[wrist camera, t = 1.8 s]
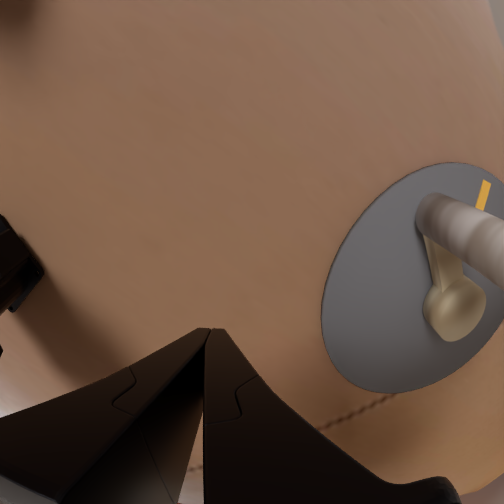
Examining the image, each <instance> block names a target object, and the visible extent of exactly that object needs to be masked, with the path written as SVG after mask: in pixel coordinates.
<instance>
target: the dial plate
mask: <svg viewBox="0 0 504 504" xmlns="http://www.w3.org/2000/svg"><path fill="white" fill-rule="evenodd" d="M434 192H438V193H441V194H444V195H446V196H449V197H451V198H454V199H456V200H459V201H461V202H463V203H466V204H468V205H471V206H473V207H475V208H478V209H480V210H482V211H484V212H487V213H489V214H491V215H493V216H495V217H498V218H500V219H502V220H504V184H503V183H502V182H501V181H500V180H499V179H497V178H496V177H495V176H494V175H493V174H491V173H489V172H487V171H486V170H484V169H482V168H479V167H476V166H472V165H469V164H464V163H454V162H450V163H439V164H435V165H431V166H427V167H424V168H421V169H419V170H417V171H415V172H412V173H410V174H408V175H406V176H405V177H403V178H402V179H400V180H399V181H397V182H395V183H394V184H392V185H391V186H390V187H389V188H388V189H386V190H385V191H384V192H383V193H382V194H380V195H379V196H378V197H377V198H376V199H375V200H374V201H373V202H372V203H371V204H370V205H369V206H368V207H367V209H366V210H365V211H364V212H363V213H362V214H361V216H360V217H359V218H358V220H357V221H356V222H355V224H354V225H353V226H352V228H351V229H350V231H349V232H348V234H347V236H346V237H345V239H344V241H343V242H342V244H341V246H340V247H339V250H338V252H337V254H336V256H335V258H334V261H333V263H332V265H331V268H330V271H329V274H328V277H327V280H326V283H325V288H324V293H323V298H322V305H321V328H322V335H323V339H324V343H325V347H326V349H327V352H328V354H329V356H330V358H331V361H332V363H333V364H334V365H335V367H336V368H337V370H338V371H339V372H340V373H341V374H342V375H343V376H344V377H345V378H346V379H347V380H348V381H350V382H351V383H353V384H354V385H356V386H358V387H361V388H363V389H365V390H369V391H373V392H379V393H401V392H408V391H412V390H416V389H420V388H423V387H425V386H428V385H431V384H433V383H435V382H437V381H439V380H441V379H443V378H445V377H447V376H448V375H450V374H452V373H453V372H455V371H456V370H457V369H459V368H460V367H462V366H463V365H464V364H465V363H467V362H468V361H469V360H470V359H471V358H472V357H473V356H475V355H476V354H477V353H478V352H479V351H480V349H481V348H482V347H483V346H484V345H485V344H486V343H487V342H488V340H489V339H490V338H491V337H492V335H493V334H494V333H495V331H496V330H497V328H498V327H499V325H500V324H501V322H502V320H503V319H504V291H503V290H502V289H500V288H499V287H498V286H496V285H495V284H494V283H492V282H491V281H490V280H488V279H487V278H486V277H484V276H483V275H482V274H480V273H479V272H478V271H476V270H475V269H473V268H472V267H471V266H469V265H468V264H466V263H465V262H463V261H462V268H463V274H464V275H465V276H466V277H468V278H469V279H470V280H472V281H473V282H474V283H475V284H477V285H478V286H479V287H481V288H482V289H483V291H484V292H485V295H486V306H485V310H484V313H483V315H482V317H481V319H480V321H479V322H478V324H477V325H476V327H475V328H474V329H473V330H472V331H471V332H470V333H469V334H468V335H466V336H465V337H463V338H461V339H459V340H457V341H452V342H449V341H445V340H443V339H442V338H441V337H440V335H439V334H438V333H437V332H436V331H435V330H434V328H433V327H432V326H431V325H430V324H429V323H428V321H427V320H426V319H425V317H424V314H423V305H424V301H425V298H426V295H427V293H428V292H429V290H430V288H431V287H432V286H433V279H432V274H431V269H430V264H429V259H428V254H427V250H426V245H425V241H424V237H423V234H422V233H421V232H420V231H419V229H418V227H417V224H416V211H417V208H418V205H419V203H420V202H421V200H422V199H423V198H424V197H425V196H426V195H428V194H430V193H434Z"/></svg>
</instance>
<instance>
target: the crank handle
mask: <svg viewBox="0 0 504 504" xmlns="http://www.w3.org/2000/svg"><path fill="white" fill-rule="evenodd" d="M416 224H417V227H418V229H419V231H420V232H421V233H422V234H423V237H424V241H425V245H426V250H427V254H428V259H429V264H430V269H431V274H432V279H433V286H432V287H431V288H430V290H429V292H428V293H427V295H426V298H425V301H424V305H423V314H424V317H425V319H426V320H427V321H428V323H429V324H430V325H431V326H432V327H433V328H434V330H435V331H436V332H437V333H438V334H439V335H440V337H441V338H442V339H443V340H445V341H449V342H452V341H457V340H459V339H461V338H463V337H465V336H466V335H468V334H469V333H470V332H471V331H472V330H473V329H474V328H475V327H476V325H477V324H478V322H479V321H480V319H481V317H482V315H483V313H484V310H485V306H486V295H485V292H484V291H483V289H482V288H481V287H479V286H478V285H477V284H475V283H474V282H473V281H472V280H470V279H469V278H468V277H466V276H465V275H464V274H463V268H462V261H463V262H465V263H466V264H468V265H469V266H471V267H472V268H473V269H475V270H476V271H478V272H479V273H480V274H482V275H483V276H484V277H486V278H487V279H488V280H490V281H491V282H492V283H494V284H495V285H496V286H498V287H499V288H500V289H502V290H503V291H504V220H502V219H500V218H498V217H495V216H493V215H491V214H489V213H487V212H484V211H482V210H480V209H478V208H475V207H473V206H471V205H468V204H466V203H463V202H461V201H459V200H456V199H454V198H451V197H449V196H446V195H444V194H441V193H438V192H434V193H430V194H428V195H426V196H425V197H424V198H423V199H422V200H421V202H420V203H419V205H418V208H417V211H416Z"/></svg>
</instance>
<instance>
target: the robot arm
mask: <svg viewBox="0 0 504 504" xmlns="http://www.w3.org/2000/svg"><path fill="white" fill-rule="evenodd" d="M37 272H38V273H39V274H38V273H37ZM43 276H44V271H43V269H42V268H41V266H40V265H39V264H38V263H37V262H36V260H35V259H34V258H33V257H32V255H31V254H30V253H29V251H28V250H27V249H26V248H25V246H24V245H23V244H22V242H21V241H20V240H19V238H18V237H17V236H16V234H15V233H14V232H13V230H12V229H11V228H10V226H9V225H8V223H7V222H6V221H5V219H4V218H3V216H2V215H1V214H0V315H1V314H2V313H3V312H4V311H5V310H6V309H8V310H9V311H10V312H12V313H13V312H15V311H16V310H17V308H18V307H19V306H20V305H21V303H22V302H23V301H24V299H25V298H26V297H27V296H28V294H29V293H30V292H31V291H32V289H33V288H34V287H35V286H36V285H37V283H38V282H39V281H40V280H41V279H42V277H43ZM2 352H3V349H2V347H1V345H0V357H1V355H2ZM202 413H203V488H204V504H462V503H461V500H460V498H459V495H458V493H457V491H456V489H455V488H454V486H453V485H452V483H451V482H450V481H449V480H448V479H447V478H446V477H442V476H437V477H430V478H426V479H422V480H419V481H415V482H412V483H407V484H393V483H389V482H386V481H384V480H382V479H380V478H379V477H377V476H376V475H375V474H373V473H372V472H371V471H369V470H368V469H366V468H365V467H364V466H362V465H361V464H360V463H358V462H357V461H356V460H354V459H353V458H352V457H351V456H349V455H348V454H347V453H345V452H344V451H343V450H341V449H340V448H339V447H338V446H336V445H335V444H334V443H333V442H331V441H330V440H329V439H328V438H326V437H325V436H324V435H323V434H321V433H320V432H319V431H318V430H317V429H315V428H314V427H313V426H312V425H311V424H309V423H308V422H307V421H306V420H305V419H303V418H302V417H301V416H300V415H299V414H297V413H296V412H295V411H294V410H293V409H292V408H290V407H289V406H288V405H287V404H286V403H285V402H284V401H283V400H281V399H280V398H279V397H278V396H277V395H276V394H275V393H274V392H273V391H272V390H271V389H270V387H269V386H268V385H267V384H266V383H265V381H264V380H263V379H262V378H261V376H259V374H258V373H257V372H256V370H255V369H254V368H253V366H252V365H251V364H250V363H249V361H248V360H247V359H246V357H245V356H244V355H243V353H242V352H241V351H240V349H239V348H238V347H237V345H236V344H235V343H234V341H233V340H232V338H231V337H230V336H229V334H228V333H227V332H226V330H225V329H217V328H213V329H212V330H211V329H210V328H197V329H195V330H193V331H192V332H190V333H188V334H186V335H185V336H183V337H181V338H179V339H177V340H176V341H174V342H172V343H170V344H168V345H167V346H165V347H163V348H161V349H159V350H158V351H156V352H154V353H152V354H150V355H149V356H147V357H145V358H143V359H141V360H139V361H137V362H136V363H134V364H132V365H130V366H129V367H125V368H124V369H122V370H120V371H118V372H116V373H114V374H112V375H110V376H108V377H106V378H104V379H101V380H99V381H97V382H94V383H92V384H90V385H87V386H85V387H82V388H80V389H77V390H75V391H72V392H69V393H67V394H64V395H62V396H59V397H57V398H54V399H51V400H49V401H46V402H43V403H41V404H38V405H35V406H32V407H30V408H27V409H24V410H21V411H19V412H16V413H13V414H10V415H7V416H4V417H1V418H0V504H177V502H178V499H179V495H180V492H181V488H182V484H183V481H184V477H185V474H186V470H187V466H188V463H189V459H190V456H191V452H192V448H193V445H194V441H195V438H196V434H197V431H198V427H199V423H200V420H201V416H202Z"/></svg>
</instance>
